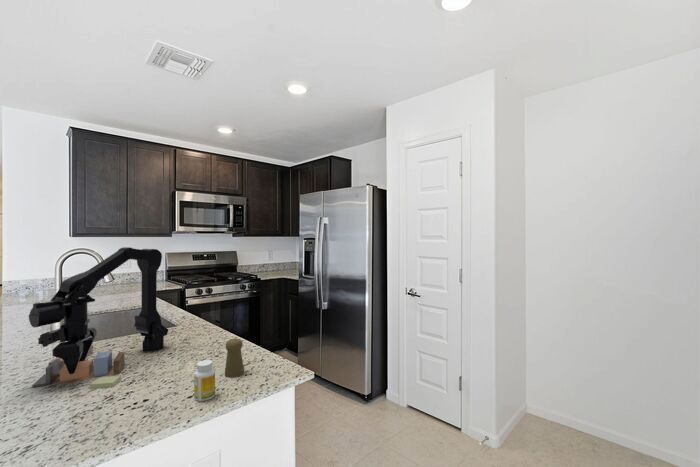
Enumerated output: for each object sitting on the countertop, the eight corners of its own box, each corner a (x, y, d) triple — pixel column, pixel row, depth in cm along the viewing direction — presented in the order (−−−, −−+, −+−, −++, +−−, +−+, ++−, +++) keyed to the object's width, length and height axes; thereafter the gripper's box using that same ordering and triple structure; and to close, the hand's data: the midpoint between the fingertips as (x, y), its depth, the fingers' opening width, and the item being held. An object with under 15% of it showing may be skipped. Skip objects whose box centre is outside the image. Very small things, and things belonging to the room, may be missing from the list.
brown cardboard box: (93, 370, 106) (93, 359, 106) (88, 376, 101) (88, 365, 101) (66, 374, 103) (65, 363, 103) (59, 381, 98) (59, 370, 98)
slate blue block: (112, 367, 108) (111, 350, 108) (107, 374, 103) (107, 357, 103) (99, 369, 107) (99, 352, 107) (94, 376, 101) (93, 358, 101)
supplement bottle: (190, 401, 88) (189, 366, 88) (201, 391, 94) (200, 358, 94) (208, 402, 88) (208, 367, 88) (219, 392, 93) (218, 359, 93)
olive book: (121, 384, 99) (121, 375, 99) (113, 392, 95) (112, 382, 95) (99, 386, 98) (99, 377, 98) (90, 393, 94) (89, 384, 94)
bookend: (60, 373, 103) (60, 358, 103) (50, 384, 96) (49, 367, 96) (44, 376, 102) (43, 360, 102) (32, 387, 95) (32, 370, 94)
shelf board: (124, 367, 111) (124, 351, 111) (119, 377, 103) (118, 360, 103) (42, 380, 102) (42, 362, 102) (29, 392, 94) (29, 373, 94)
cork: (248, 370, 107) (247, 337, 107) (236, 378, 102) (235, 343, 102) (233, 368, 109) (232, 335, 109) (220, 376, 104) (219, 341, 103)
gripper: (54, 314, 107) (55, 361, 107) (27, 330, 90) (29, 386, 90) (96, 310, 112) (97, 355, 112) (78, 325, 95) (79, 378, 95)
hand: (77, 367), depth 102 cm, fingers open, 9 cm apart
